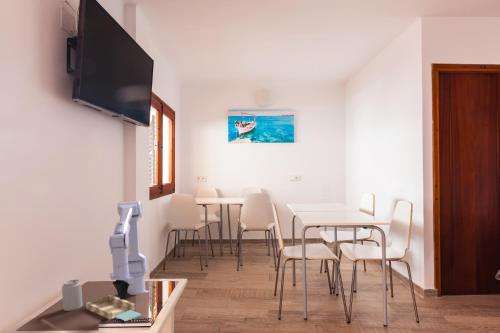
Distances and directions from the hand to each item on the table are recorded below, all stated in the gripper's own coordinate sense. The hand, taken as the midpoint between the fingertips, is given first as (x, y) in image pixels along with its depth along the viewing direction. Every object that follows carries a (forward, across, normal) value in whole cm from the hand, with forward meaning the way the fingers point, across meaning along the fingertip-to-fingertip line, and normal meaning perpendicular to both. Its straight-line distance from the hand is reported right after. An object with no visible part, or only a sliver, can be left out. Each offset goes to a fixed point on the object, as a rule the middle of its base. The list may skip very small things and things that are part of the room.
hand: (122, 298), depth 140 cm
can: (+8, -28, -8) cm, 30 cm away
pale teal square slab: (+8, +3, 0) cm, 9 cm away
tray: (+7, -11, 0) cm, 13 cm away
